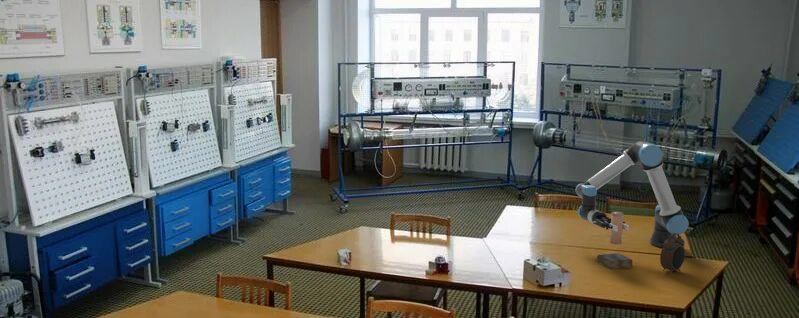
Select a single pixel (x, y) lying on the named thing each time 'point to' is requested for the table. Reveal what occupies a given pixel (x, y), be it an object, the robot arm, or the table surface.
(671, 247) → the alarm clock
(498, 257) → the table surface
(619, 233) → the canister
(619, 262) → the base stand
